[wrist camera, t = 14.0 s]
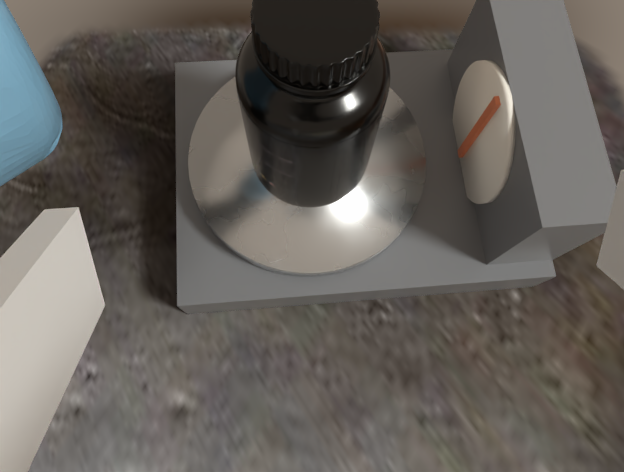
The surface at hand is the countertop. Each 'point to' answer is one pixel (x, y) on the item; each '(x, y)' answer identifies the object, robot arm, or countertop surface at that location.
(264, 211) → the scale pan
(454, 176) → the scale
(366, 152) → the supplement bottle
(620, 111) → the countertop surface
